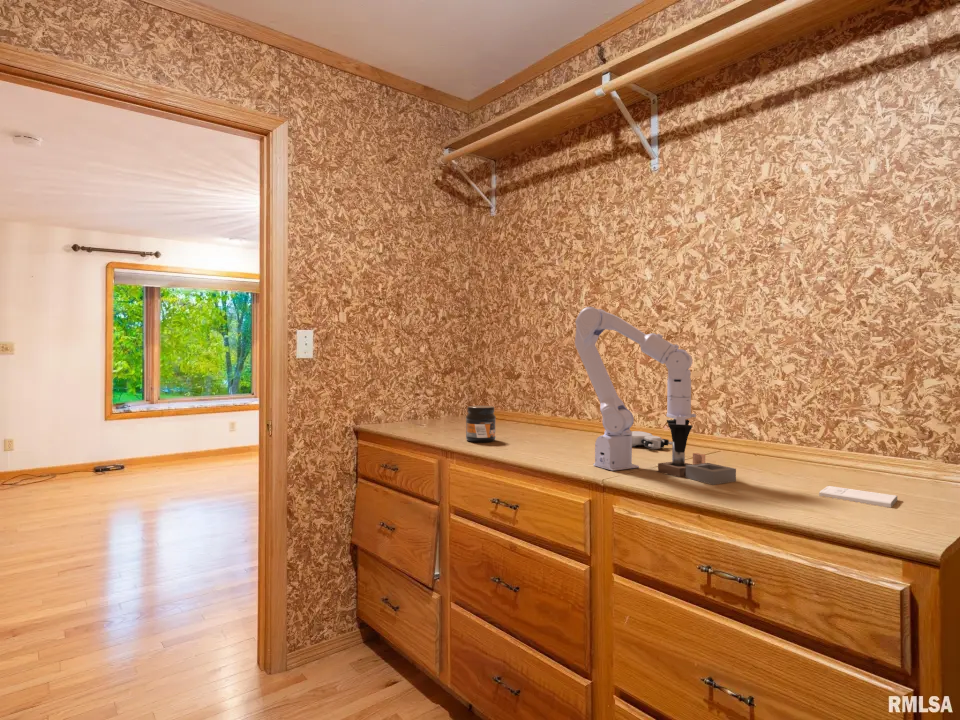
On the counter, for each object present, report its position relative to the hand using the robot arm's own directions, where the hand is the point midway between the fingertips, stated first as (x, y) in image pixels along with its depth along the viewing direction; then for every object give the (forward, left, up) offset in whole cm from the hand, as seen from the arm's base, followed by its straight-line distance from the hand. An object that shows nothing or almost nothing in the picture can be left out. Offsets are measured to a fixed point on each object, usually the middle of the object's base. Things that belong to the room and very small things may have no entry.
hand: (678, 449), depth 136 cm
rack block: (+1, -8, -6) cm, 10 cm away
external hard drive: (+15, -34, -7) cm, 38 cm away
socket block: (0, 0, -6) cm, 6 cm away
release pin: (+5, 0, -6) cm, 8 cm away
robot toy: (+21, +33, -7) cm, 40 cm away
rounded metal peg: (0, 0, -6) cm, 6 cm away
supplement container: (-22, +68, -6) cm, 72 cm away
